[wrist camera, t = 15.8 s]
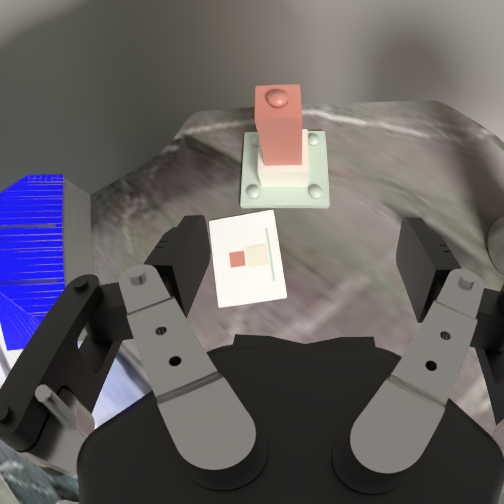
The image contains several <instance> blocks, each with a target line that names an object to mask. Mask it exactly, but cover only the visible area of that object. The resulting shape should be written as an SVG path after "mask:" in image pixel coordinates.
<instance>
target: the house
mask: <svg viewBox="0 0 504 504" xmlns="http://www.w3.org/2000/svg"><path fill="white" fill-rule="evenodd" d="M86 274H93V275H94V269H93V256H92V241H91V217H90V194H88V193H87V192H85V191H84V190H82V189H81V188H79V187H78V186H76V185H74V184H73V183H71V182H70V181H68V180H67V179H65V178H64V174H54V175H53V174H45V175H44V174H40V175H27V176H25V177H24V178H22V179H20V180H19V181H17V182H15V183H14V184H12V185H11V186H9V187H7V188H6V189H4V190H3V191H2V192H1V193H0V323H1V328H2V332H3V336H4V340H5V344H6V347H7V351H9V350H18V349H24V348H25V346H26V345H27V343H28V342H29V340H30V338H31V337H32V335H33V334H34V332H35V331H36V329H37V328H38V326H39V325H40V323H41V322H42V320H43V319H44V317H45V316H46V314H47V313H48V311H49V310H50V309H51V307H52V306H53V304H54V303H55V301H56V300H57V299H58V297H59V296H60V294H61V293H62V292H63V290H64V289H65V288H66V286H67V285H68V284H69V283H70V282H71V281H72V280H73V279H75V278H77V277H79V276H82V275H86ZM86 335H87V333H86V331H85V329H83V330H82V332H81V334H80V336H79V338H78V343H82V342H83V340H84V339H85V337H86Z"/></svg>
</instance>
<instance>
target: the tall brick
mask: <svg viewBox="0 0 504 504" xmlns="http://www.w3.org/2000/svg"><path fill="white" fill-rule="evenodd" d="M255 124H256V128H257V132H258V137H259V141H260V145H261V150H262V154H263V159H264V163H265V166H283V165H302V107H301V95H300V85H269V86H256V90H255Z"/></svg>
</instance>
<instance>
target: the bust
mask: <svg viewBox="0 0 504 504" xmlns="http://www.w3.org/2000/svg"><path fill="white" fill-rule="evenodd" d="M56 504H79V502H72V501H69V500H60V501H58V502H57V503H56Z"/></svg>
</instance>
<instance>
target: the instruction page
mask: <svg viewBox="0 0 504 504" xmlns="http://www.w3.org/2000/svg"><path fill="white" fill-rule="evenodd" d="M209 225H210V235H211V245H212V254H213V263H214V272H215V281H216V290H217V298H218V306H219V308H220V307H227V306H235V305H242V304H249V303H256V302H263V301H270V300H277V299H283V298H287V294H286V287H285V281H284V274H283V268H282V261H281V255H280V248H279V242H278V236H277V230H276V224H275V218H274V212H273V210H268V211H262V212H257V213H251V214H245V215H240V216H234V217H228V218H223V219H218V220H212V221H209Z"/></svg>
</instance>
